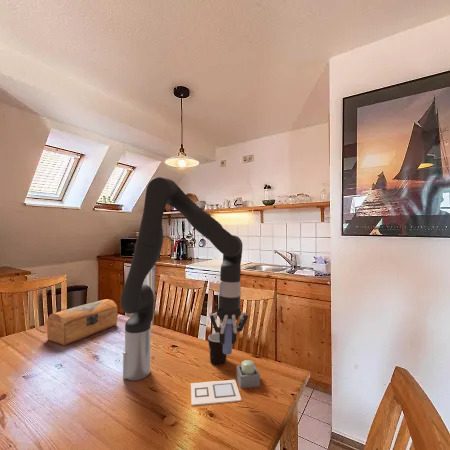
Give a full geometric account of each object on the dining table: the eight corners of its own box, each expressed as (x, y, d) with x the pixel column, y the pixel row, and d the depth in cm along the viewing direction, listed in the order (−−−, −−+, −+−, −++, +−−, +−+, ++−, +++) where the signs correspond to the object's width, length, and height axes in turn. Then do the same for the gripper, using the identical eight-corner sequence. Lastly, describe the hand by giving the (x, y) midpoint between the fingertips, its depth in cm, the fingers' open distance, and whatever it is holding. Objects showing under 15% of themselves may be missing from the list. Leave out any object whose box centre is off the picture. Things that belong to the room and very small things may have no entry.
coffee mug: (226, 368, 101) (226, 342, 101) (205, 365, 102) (205, 340, 103) (231, 354, 112) (231, 331, 112) (212, 352, 114) (212, 329, 114)
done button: (243, 380, 90) (243, 367, 90) (240, 372, 94) (240, 360, 94) (255, 379, 90) (255, 366, 90) (252, 371, 95) (252, 359, 95)
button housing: (240, 388, 88) (240, 376, 88) (236, 376, 95) (236, 365, 95) (259, 386, 89) (259, 375, 89) (254, 375, 96) (254, 364, 96)
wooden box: (64, 346, 118) (65, 316, 118) (45, 339, 126) (46, 311, 126) (119, 325, 144) (119, 300, 144) (100, 320, 152) (101, 296, 152)
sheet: (191, 405, 79) (191, 404, 79) (190, 384, 90) (190, 382, 90) (241, 401, 82) (241, 399, 82) (235, 380, 93) (235, 379, 93)
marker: (223, 354, 86) (224, 319, 86) (221, 349, 89) (223, 315, 89) (233, 354, 86) (234, 319, 86) (231, 349, 90) (232, 315, 90)
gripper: (210, 296, 83) (208, 349, 83) (252, 296, 85) (250, 347, 85) (208, 290, 90) (206, 338, 90) (246, 290, 92) (244, 337, 93)
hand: (227, 342), depth 88 cm, fingers closed on marker, 3 cm apart
